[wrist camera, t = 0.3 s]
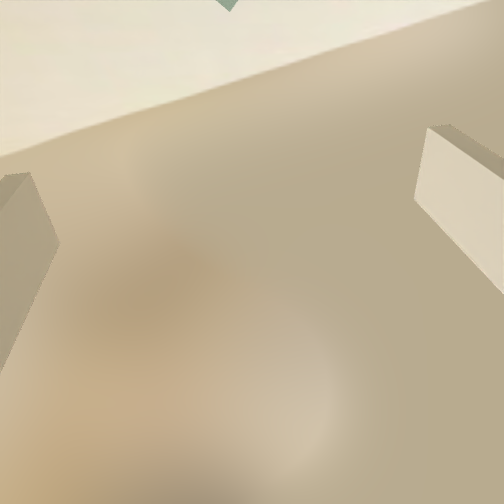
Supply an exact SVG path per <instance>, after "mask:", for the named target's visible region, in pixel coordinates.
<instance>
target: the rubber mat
mask: <svg viewBox="0 0 504 504" xmlns="http://www.w3.org/2000/svg"><path fill="white" fill-rule="evenodd" d="M216 1H218V2H219V3H220V4H221V5H222V6H223V7H225V8H226V9H227V10H228V11H229V12H230V11H231V9H232V8H233V7H234V5H235V4H236V2H237V1H238V0H216Z"/></svg>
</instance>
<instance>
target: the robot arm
mask: <svg viewBox="0 0 504 504" xmlns="http://www.w3.org/2000/svg"><path fill="white" fill-rule="evenodd" d="M414 200H415V201H416V202H417V203H418V204H419V205H420V206H421V207H422V208H423V209H424V210H425V211H426V212H427V213H428V214H429V216H431V218H432V219H433V220H434V221H435V222H436V223H437V224H438V225H439V226H440V227H441V228H442V229H443V231H444V232H446V234H447V235H448V236H449V237H450V238H451V239H452V240H453V241H454V242H455V243H456V244H457V245H458V246H459V247H460V249H461V250H462V251H463V252H464V253H465V254H466V255H467V256H468V257H469V258H470V259H471V260H472V261H473V262H474V263H475V265H476V266H477V267H478V268H479V269H480V270H481V271H482V272H483V273H484V274H485V275H486V276H487V277H488V278H489V279H490V280H491V282H492V283H493V284H494V285H495V286H496V287H497V288H498V289H499V290H500V291H501V292H502V293H503V294H504V158H502V157H500V156H499V155H497V154H496V153H494V152H492V151H491V150H489V149H488V148H486V147H485V146H483V145H481V144H480V143H478V142H477V141H475V140H473V139H472V138H470V137H468V136H467V135H465V134H464V133H462V132H461V131H459V130H458V129H456V128H454V127H453V126H451V125H441V126H432V127H428V129H427V134H426V139H425V145H424V149H423V155H422V160H421V165H420V170H419V175H418V180H417V186H416V191H415V196H414ZM59 245H60V241H59V239H58V237H57V234H56V232H55V230H54V227H53V225H52V223H51V220H50V218H49V216H48V214H47V211H46V209H45V207H44V204H43V202H42V200H41V197H40V195H39V193H38V190H37V188H36V186H35V183H34V181H33V179H32V176H31V174H30V173H20V174H12V175H5V176H4V177H3V178H2V179H1V181H0V373H1V371H2V369H3V367H4V364H5V362H6V360H7V358H8V356H9V354H10V351H11V349H12V347H13V345H14V343H15V341H16V338H17V336H18V334H19V332H20V330H21V328H22V325H23V323H24V321H25V319H26V317H27V314H28V312H29V310H30V308H31V306H32V304H33V301H34V299H35V297H36V295H37V292H38V290H39V288H40V286H41V284H42V282H43V280H44V278H45V275H46V273H47V271H48V269H49V267H50V264H51V262H52V260H53V258H54V255H55V253H56V251H57V249H58V247H59Z"/></svg>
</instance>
